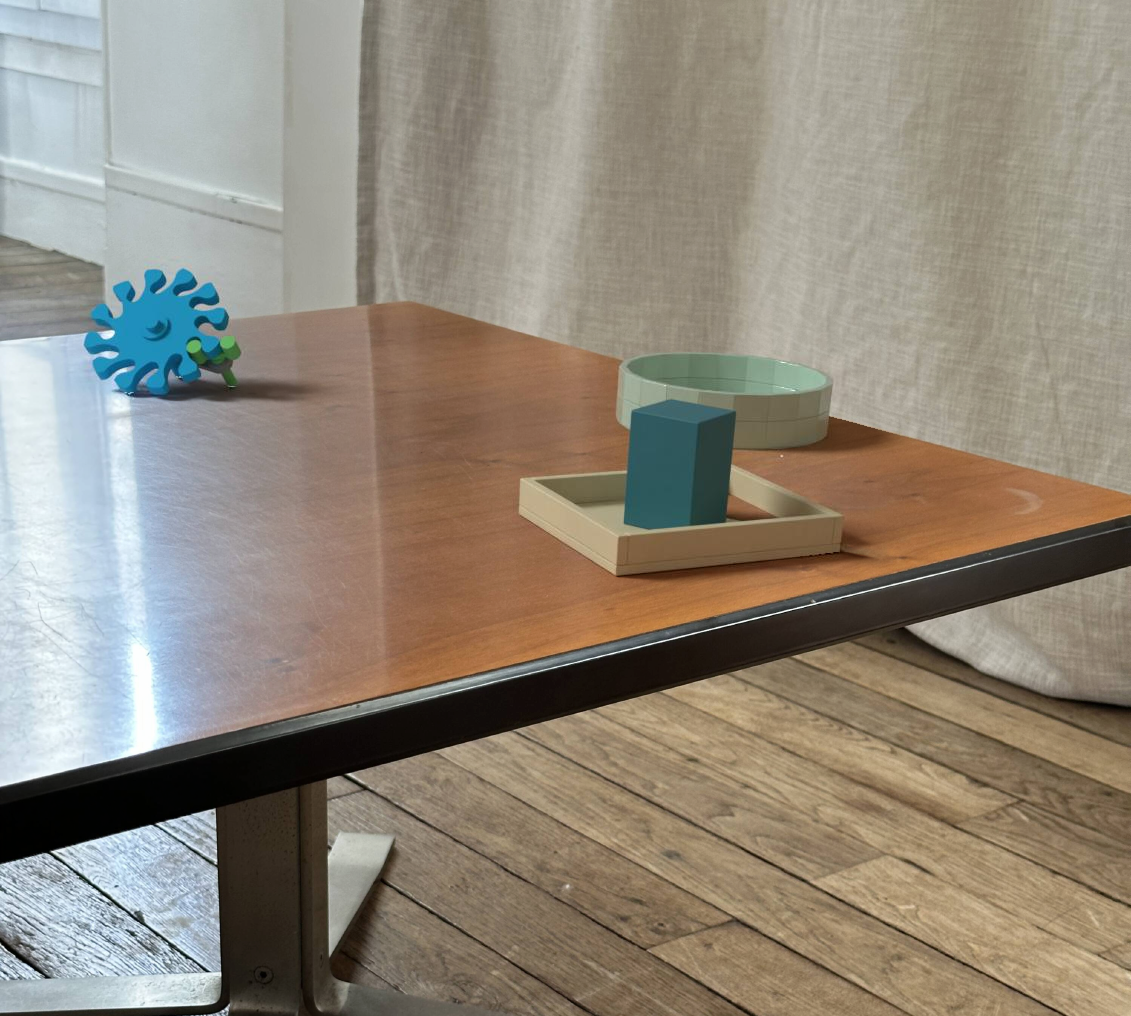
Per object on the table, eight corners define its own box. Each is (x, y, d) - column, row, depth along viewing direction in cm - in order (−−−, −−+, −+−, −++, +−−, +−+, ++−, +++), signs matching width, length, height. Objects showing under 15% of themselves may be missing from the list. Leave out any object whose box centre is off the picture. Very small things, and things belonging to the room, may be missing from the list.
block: (661, 509, 87) (670, 398, 84) (726, 523, 85) (737, 410, 83) (622, 524, 84) (630, 409, 81) (688, 539, 82) (699, 422, 79)
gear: (53, 362, 108) (123, 246, 111) (89, 411, 113) (155, 299, 116) (192, 405, 105) (261, 285, 108) (223, 454, 111) (287, 338, 113)
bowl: (752, 405, 116) (758, 348, 114) (868, 450, 104) (876, 389, 103) (580, 414, 110) (583, 355, 108) (682, 464, 99) (688, 399, 97)
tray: (726, 496, 92) (729, 462, 91) (840, 552, 83) (844, 515, 82) (518, 514, 86) (519, 477, 86) (615, 576, 77) (618, 536, 76)
